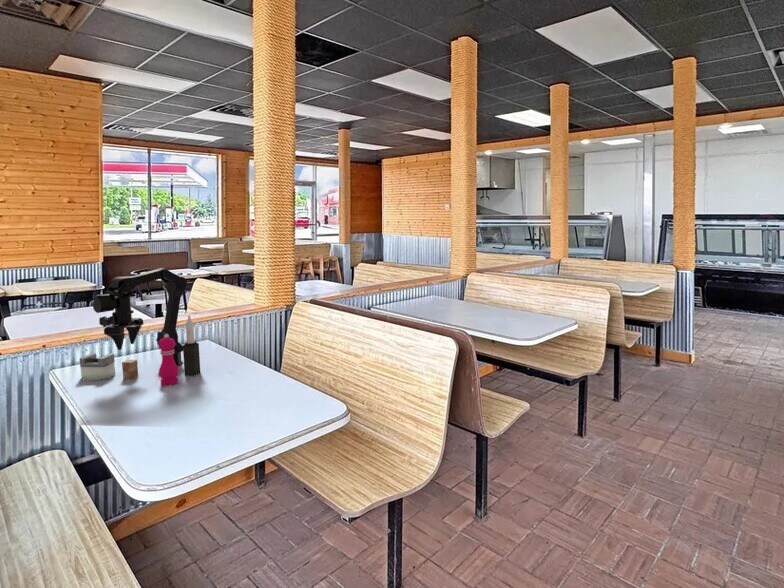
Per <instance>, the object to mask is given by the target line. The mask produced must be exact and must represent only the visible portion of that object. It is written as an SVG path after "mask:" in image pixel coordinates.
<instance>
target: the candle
mask: <svg viewBox="0 0 784 588" xmlns="http://www.w3.org/2000/svg"><path fill="white" fill-rule="evenodd" d="M194 328H195V327H194V322H193V320H192V319H191V315H187V321H186V322H185V333H186V335H185V336H186V342H184V344H182V346H183V351H182V353H183V370H184V376H187V375H189V377H195V376H197V375H198V373H199V374H201V360H200V345H199V342H197V341H195V329H194ZM196 374H197V375H196ZM194 375H195V376H194Z"/></svg>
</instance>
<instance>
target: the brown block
mask: <svg viewBox="0 0 784 588" xmlns="http://www.w3.org/2000/svg"><path fill="white" fill-rule="evenodd" d="M121 366H122V367H121V368H122V378H123V380H134V379H136V378H138V377H139V370H138V369H139V367H138V366H139V365H138V360H137V359H125V360H124V361H122V362H121Z"/></svg>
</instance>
